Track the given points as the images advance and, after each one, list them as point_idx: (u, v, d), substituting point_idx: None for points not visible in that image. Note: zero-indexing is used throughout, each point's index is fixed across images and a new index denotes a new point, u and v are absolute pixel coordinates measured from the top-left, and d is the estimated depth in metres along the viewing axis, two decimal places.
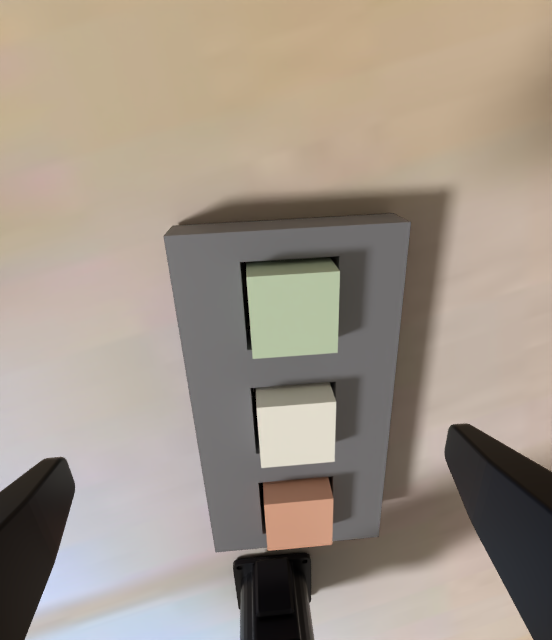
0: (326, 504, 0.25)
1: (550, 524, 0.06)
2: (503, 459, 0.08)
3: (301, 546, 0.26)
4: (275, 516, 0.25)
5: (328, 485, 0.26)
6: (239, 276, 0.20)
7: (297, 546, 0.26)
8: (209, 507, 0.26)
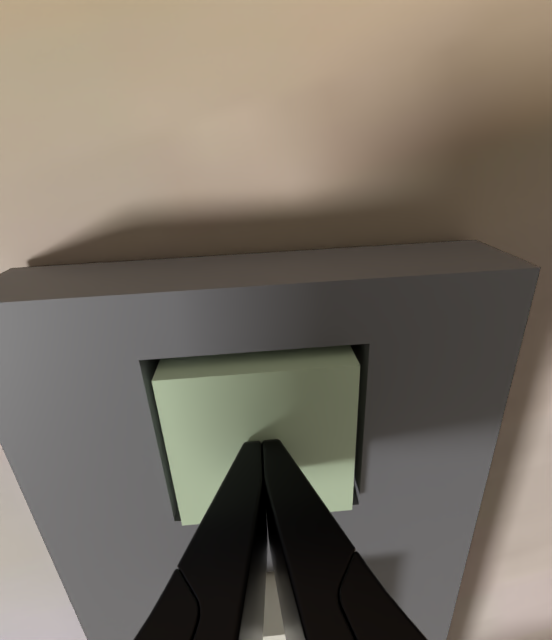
0: None
1: (280, 550, 0.06)
2: (280, 479, 0.07)
3: None
4: None
5: None
6: (141, 389, 0.09)
7: None
8: None
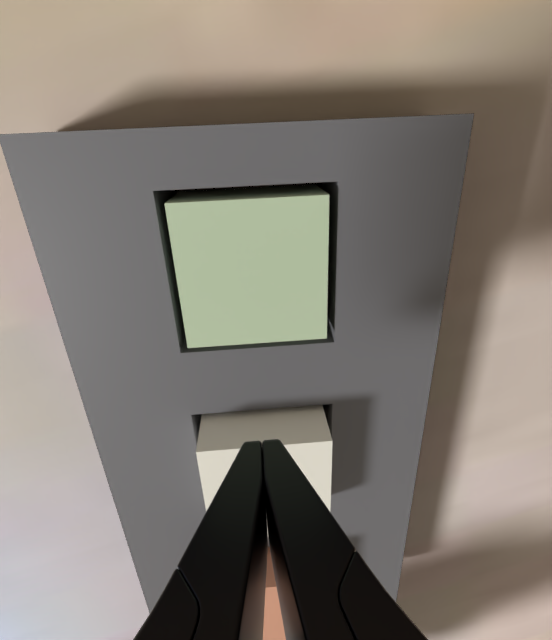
0: None
1: (280, 550, 0.06)
2: (280, 479, 0.07)
3: None
4: None
5: None
6: (154, 219, 0.11)
7: None
8: (143, 585, 0.17)
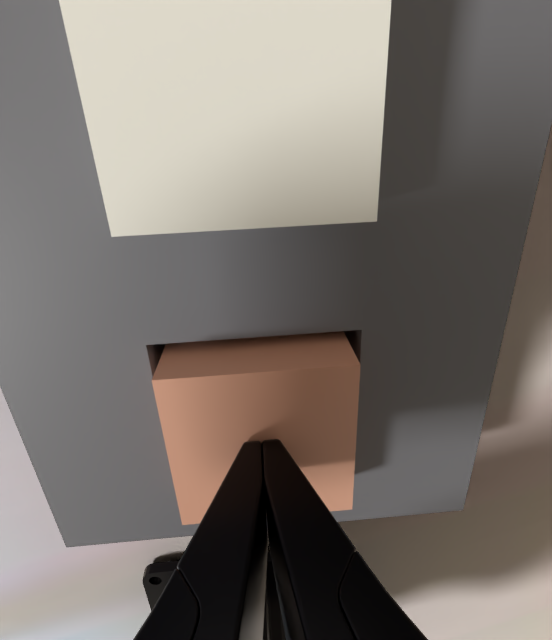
0: (338, 383, 0.08)
1: (280, 550, 0.06)
2: (280, 479, 0.07)
3: None
4: (191, 421, 0.09)
5: (343, 342, 0.09)
6: None
7: None
8: (18, 422, 0.10)
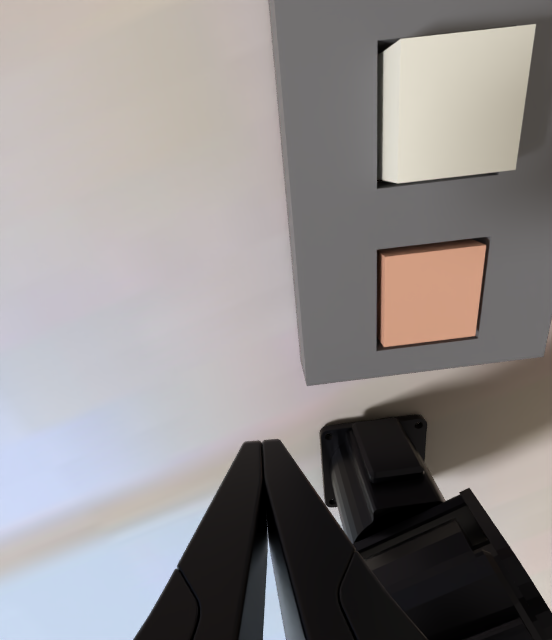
0: (474, 256, 0.17)
1: (280, 550, 0.06)
2: (279, 478, 0.07)
3: (431, 339, 0.18)
4: (399, 280, 0.17)
5: (470, 240, 0.18)
6: None
7: (426, 340, 0.19)
8: (301, 299, 0.17)
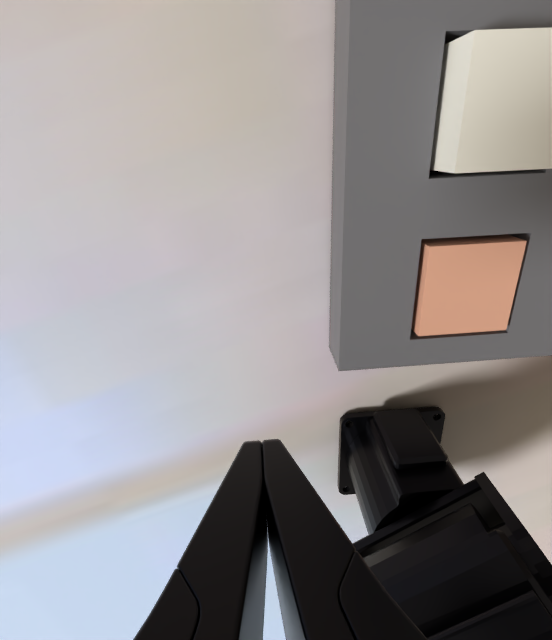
0: (514, 251, 0.17)
1: (280, 550, 0.06)
2: (280, 479, 0.07)
3: (464, 330, 0.19)
4: (440, 270, 0.17)
5: (509, 235, 0.18)
6: None
7: (458, 332, 0.19)
8: (343, 284, 0.18)
